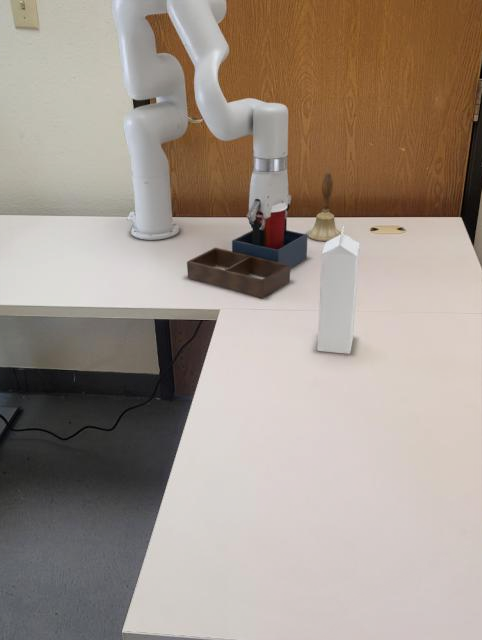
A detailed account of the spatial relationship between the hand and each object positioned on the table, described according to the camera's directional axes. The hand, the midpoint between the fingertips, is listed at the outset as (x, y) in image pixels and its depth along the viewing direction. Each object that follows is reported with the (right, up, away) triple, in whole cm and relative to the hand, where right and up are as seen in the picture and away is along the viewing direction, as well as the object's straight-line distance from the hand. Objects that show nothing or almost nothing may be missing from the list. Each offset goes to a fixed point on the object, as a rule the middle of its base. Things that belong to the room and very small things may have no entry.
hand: (269, 239), depth 167 cm
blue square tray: (0, -5, +3) cm, 6 cm away
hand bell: (+15, +4, +17) cm, 23 cm away
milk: (+10, -27, -34) cm, 44 cm away
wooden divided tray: (-7, -10, -6) cm, 14 cm away
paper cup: (0, -5, +3) cm, 5 cm away
